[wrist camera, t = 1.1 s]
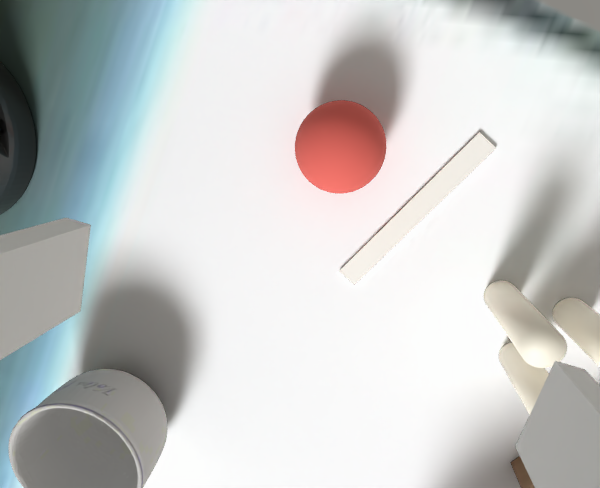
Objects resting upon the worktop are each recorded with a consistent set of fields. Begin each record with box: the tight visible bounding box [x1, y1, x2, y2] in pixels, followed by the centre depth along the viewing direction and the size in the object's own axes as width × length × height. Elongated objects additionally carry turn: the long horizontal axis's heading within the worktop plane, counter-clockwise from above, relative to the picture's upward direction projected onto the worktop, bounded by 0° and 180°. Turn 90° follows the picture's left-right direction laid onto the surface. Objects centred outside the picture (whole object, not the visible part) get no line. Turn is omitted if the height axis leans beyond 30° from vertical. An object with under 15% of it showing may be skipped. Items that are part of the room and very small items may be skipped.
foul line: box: [340, 132, 496, 285], centre depth 32 cm, size 2×14×1 cm, turn 138°
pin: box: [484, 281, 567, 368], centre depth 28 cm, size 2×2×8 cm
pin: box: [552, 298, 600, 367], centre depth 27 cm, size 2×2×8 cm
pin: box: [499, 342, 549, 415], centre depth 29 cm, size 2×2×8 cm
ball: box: [295, 100, 386, 193], centre depth 29 cm, size 6×6×6 cm
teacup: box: [9, 369, 167, 488], centre depth 37 cm, size 14×11×8 cm
